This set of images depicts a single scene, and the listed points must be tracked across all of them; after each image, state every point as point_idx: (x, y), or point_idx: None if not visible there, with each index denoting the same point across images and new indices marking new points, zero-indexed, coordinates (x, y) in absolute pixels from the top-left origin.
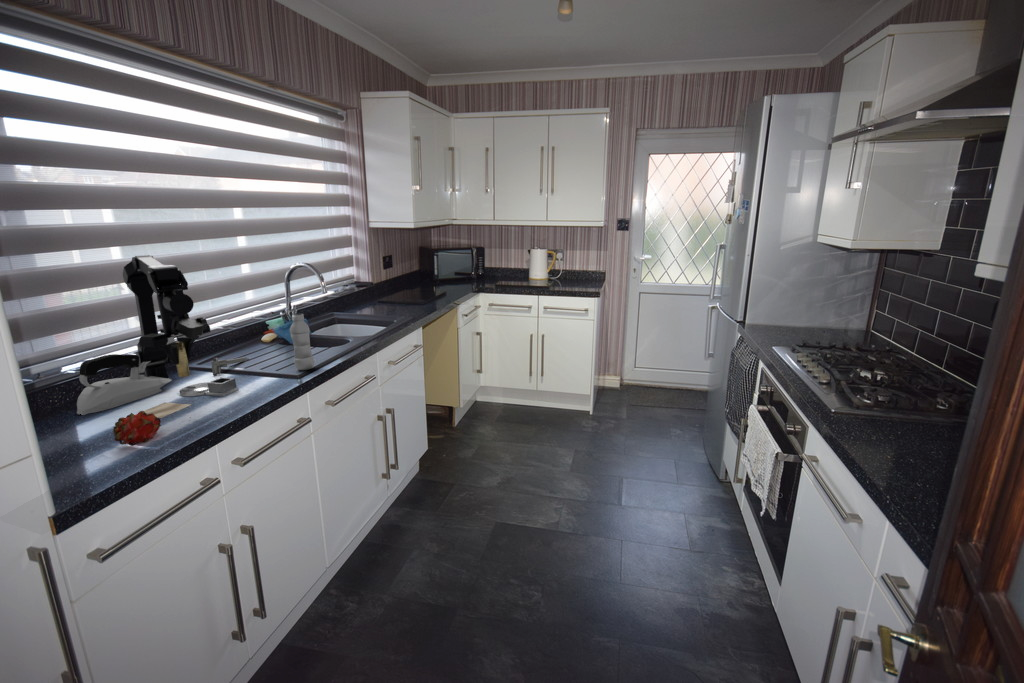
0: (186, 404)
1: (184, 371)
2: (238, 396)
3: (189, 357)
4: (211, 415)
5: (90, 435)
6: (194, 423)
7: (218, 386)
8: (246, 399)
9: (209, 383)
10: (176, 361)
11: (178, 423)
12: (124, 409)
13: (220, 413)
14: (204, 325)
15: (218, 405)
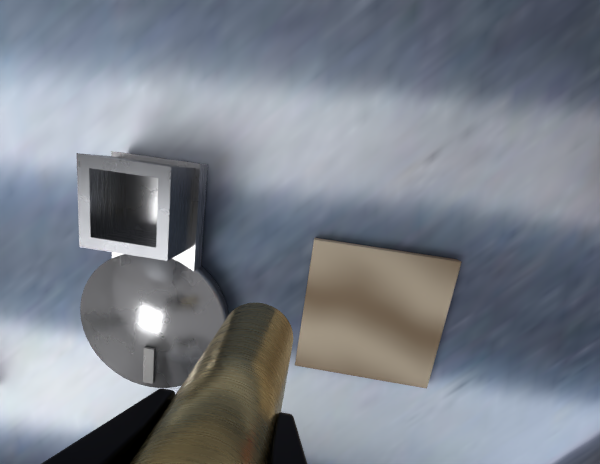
0: (313, 262)
1: (273, 333)
2: (184, 107)
3: (131, 407)
4: (413, 69)
5: (586, 409)
6: (506, 83)
7: (177, 191)
8: (214, 35)
9: (169, 247)
10: (299, 448)
11: (500, 160)
12: (348, 461)
13: (390, 41)
14: None
15: (295, 126)
